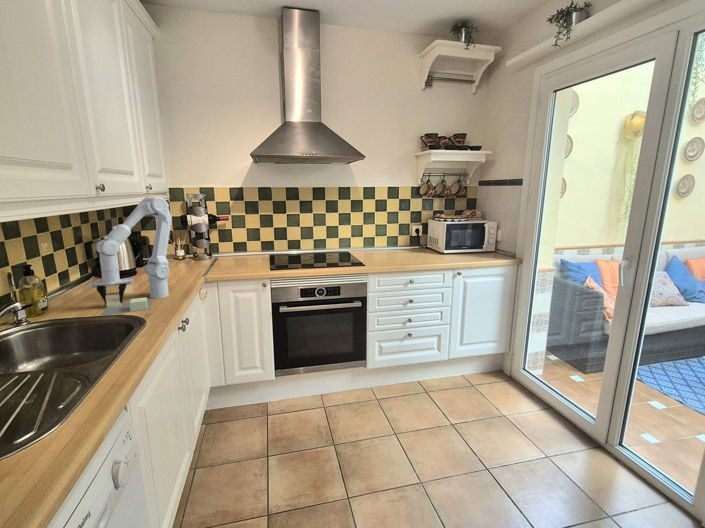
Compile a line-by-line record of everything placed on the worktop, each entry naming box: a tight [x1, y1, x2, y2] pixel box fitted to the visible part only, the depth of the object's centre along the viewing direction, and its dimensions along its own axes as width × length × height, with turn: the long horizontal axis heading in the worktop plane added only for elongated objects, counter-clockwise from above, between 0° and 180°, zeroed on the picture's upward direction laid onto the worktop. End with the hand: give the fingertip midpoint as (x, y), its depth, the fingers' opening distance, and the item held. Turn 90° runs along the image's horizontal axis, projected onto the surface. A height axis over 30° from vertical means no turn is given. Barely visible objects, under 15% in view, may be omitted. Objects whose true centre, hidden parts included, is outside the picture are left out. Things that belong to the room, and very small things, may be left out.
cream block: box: [106, 291, 121, 308], centre depth 139 cm, size 4×4×5 cm
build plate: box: [100, 299, 152, 317], centre depth 139 cm, size 15×16×1 cm
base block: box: [129, 297, 148, 312], centre depth 137 cm, size 6×6×4 cm
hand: (113, 303), depth 140 cm, fingers closed on cream block, 4 cm apart
